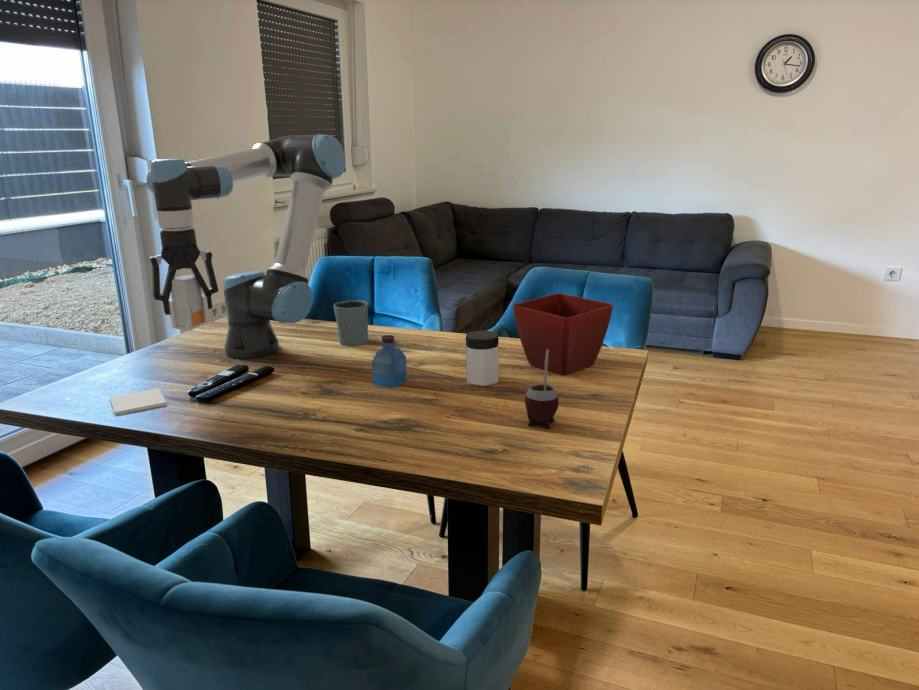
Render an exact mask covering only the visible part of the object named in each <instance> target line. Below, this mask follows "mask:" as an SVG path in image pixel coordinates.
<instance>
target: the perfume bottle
mask: <svg viewBox="0 0 919 690" xmlns="http://www.w3.org/2000/svg"><path fill="white" fill-rule="evenodd" d="M380 346H381V347H382V348H380V349H378V350H377V351H376V353H375V355H374V357H373V358H372V360H371V366H372V368H371V369H372V370H371V371H372V385H374V386H379V387H386V388H394V389H395V388H397V387H399V386H400V385H401V384H403V383H405V382H406V381H407V380H408V378H407V377H408V372H407V356H406V355H405V354H404V352H403V351H402V349H401V348H400V347H395V346H396V340H395V335H391V334H385V335H382V336H381V341H380Z"/></svg>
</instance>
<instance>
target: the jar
mask: <svg viewBox="0 0 919 690" xmlns="http://www.w3.org/2000/svg"><path fill="white" fill-rule="evenodd" d="M499 343H500V342H499V334H498V333H497V332H495V331H491V330H474V331H471V332H467V333H466V335H465V357H466V358H465V359H466V360H465V363H466V365H465V366H466V383H467V384H468V385H472V386H473V385H474V386H479V387H486V386H490V385H495V384H498V383H499V375H500V371H499V367H500V364H499V363H500V357H499V353H500V352H499Z"/></svg>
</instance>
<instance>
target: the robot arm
mask: <svg viewBox="0 0 919 690" xmlns="http://www.w3.org/2000/svg"><path fill="white" fill-rule="evenodd" d="M345 169H346V155H345V152H344V149H343V146H342V144H341V143H340V141H339V140H338V139H337V138H336V137H334V135H333V136H332V135H329V134H322V133H317V134H304V135H303V134H301V135H300V134H299V135H298V134H296V135H295V134H291V135H290V134H289V135H285V136H284V135H283V136H281V137H278V138H274V139H270V140H267V141H264V142H263V141H262V142H259V143H255V144H254V145H253V146H252V148H249V149H244V150H240V151H239V150H238V151H235V152H233V151H232V152H229V153H224V154H220V155H214V156H210V157H205V158H200V159H195V160H190V161H185V159H183V158H166V159H165V158H164V159H163V158H159V159H154V160H152V161H151V163H150V169H149V170H148V172H147V175H146V183H147V184H146V185H147V187H148V190H149V191H150V192H151V193H152V194H153V197H154V201H155V208H156V215H157V221H158V222H157V223H158V227H159V228H160V229H162V230H160V231H159V236H160V244H161V252H160V254H158V255H154V256H153V255H152V256H149V258H148V260H149V262H150V265H151V275H152V277H151V278H152V297H153V299H154V300H155V301H160V302H162V306H163V307H162V308H163V313H164V314H165V315H166V316H167V315H169V321H170V326H171V328H172V329H173V330H176V321H175V315H174V308H173V301H172V298H171V299H170V296H171V289H172V280H174V279H175V276H176V273H177V271H179V270H183V269H187V270H188V269H190V271H191V272H192V274H193V276H195V277H196V278H197V280H198V282H199V284H200V287H201V291H202V293H203V294H201V295H202V303H203V311H204V319H205V324H206V325H208V324H211V321H210V311H209V310H212V309H213V301H212V295H213V294H216V293H218V292H219V287H218V283H217V282H218V281H217V279H216V275H215V270H214V267H213V263H212V259H213V253H212V252H211V251H209V250H206V251H205V250H200V249H199V247H198V243H197V235H196V229H195V228H193V227H194V226H195V220H194V214H193V206H192V201H196V200H207V199H220V198H223V197H227V196H229V195H230V194H231V193H232V192H233V189H234V183H236V182H241V181H244V180H248V179H253V178H256V177H262V178H265V179H268V178H271V177H290V179H291V180H292V182H293V185H292V190H291V195H290V198H289V203H288V206H287V211H286V216H285V219H284V223H283V227H282V231H281V234H280V239H279V242H278V243H279V244H278V247H277V252H276V256H275V260H274V263H273V265H272V266H269V267H268V268H267V269H266V272H265V271H263V270H254V271H253V270H251V271H246V272H239V273H235V274H234V273H233V274H231V275H228V276H226V277H225V278H224V279H223V297H224V303H225V309H226V317H227V324H228V325H227V326H228V329H227V334H226V339H225V344H224V351H225V355H227V356H228V357H231V358H235V359H250V358H251V359H253V358H259V357H265V356H268V355H271V354H273V353H276V352H277V351H278V350H279V349H280V345H279V344H280V343H279V340H278V337H277V335H276V333H275V331H274V329H273V326H272V324H271V321H273V322H278V323H280V324H296V323H299V322H300V321H302V320H305V318H306V317H307V316H308V314H310V311H311V309H312V307H313V303H314V295H313V294H312V293H313V289H312V288H311V286H310V285H309V281H310V279H309V277H308V275H307V274H306V269H307V264H308V262H309V257H310V252H311V249H312V244H313V241H314V236H315V233H316V232H315V231H316V228H317V224H318V219H319V215H320V213H321V212H320V211H321V207H322V203H323V198H324V194H325V192H327V191H328V190H330V189H332V185H333V181H334V179H337V178H339V177H340V176H341V175H343V174H344V171H345ZM199 257H201V259H202V261H203V263H204V266H205V267H204V268H205V270H206V274H207V275H206V276H207V278H208V281H209V282H208V283H209V285H210V286H209V287H210V288H209V287H208V285H207V283H206V281H205V279H204V277H203V276H202V274H201V272H200V270H199V268H198V267H197V264H196V262H197V261H198V259H199ZM162 260H163V261H164V262H165V263H166V264H168V267H167V273H166V278H165V282H164V287H163V288H162V289H163V290H162V293H161V280H160V279H161V278H160V277H161V276H160V265H162Z"/></svg>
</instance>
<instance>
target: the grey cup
mask: <svg viewBox="0 0 919 690" xmlns="http://www.w3.org/2000/svg"><path fill="white" fill-rule="evenodd" d="M368 305H369V303H368V302H367V301H366V300H360V299H358V300H357V299H356V300H355V299H354V300H353V299H352V300H344V301H340V302H335V303H334V304H333V311H334V316H335V321H336V327H337V331H338V334H337V335H338V341H339V343H340V345H341V346H343V347H344V346H345V347H358V346H364V345H367V344H368V343H369V321H368V317H369V316H368V311H369V308H368V307H369V306H368Z"/></svg>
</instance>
